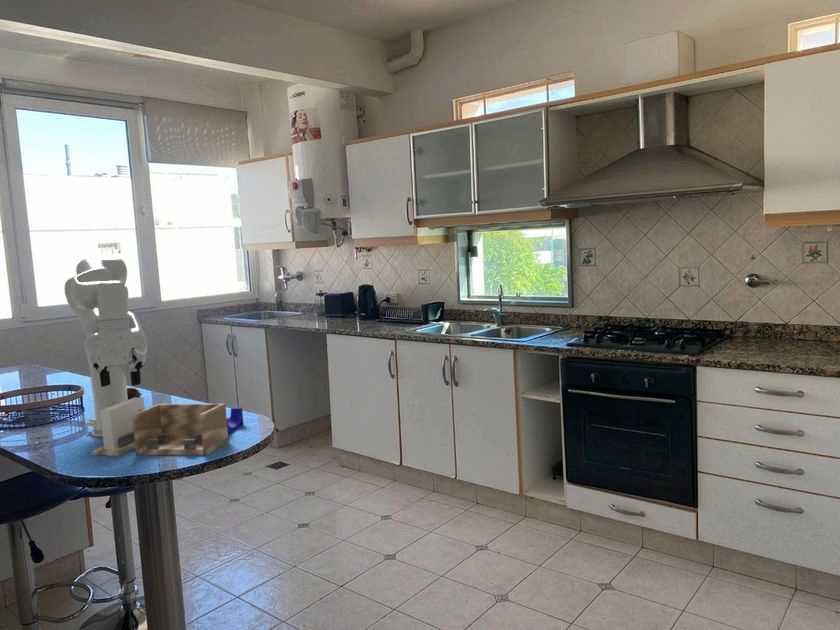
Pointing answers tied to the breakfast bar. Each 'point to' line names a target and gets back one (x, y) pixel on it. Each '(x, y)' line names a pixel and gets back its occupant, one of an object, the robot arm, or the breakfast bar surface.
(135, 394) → the pottery mug
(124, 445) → the door stand
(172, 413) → the cabinet
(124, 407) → the door
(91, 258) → the robot arm
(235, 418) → the cable clip
